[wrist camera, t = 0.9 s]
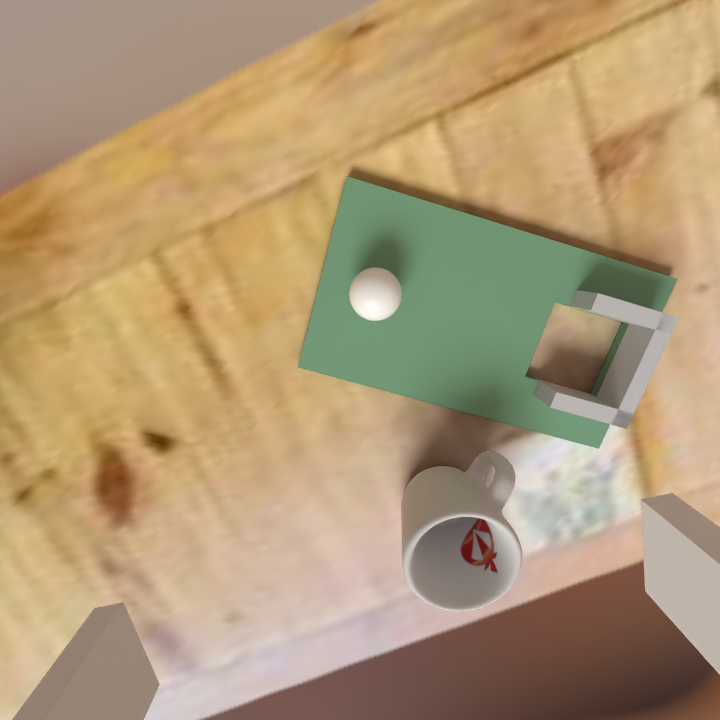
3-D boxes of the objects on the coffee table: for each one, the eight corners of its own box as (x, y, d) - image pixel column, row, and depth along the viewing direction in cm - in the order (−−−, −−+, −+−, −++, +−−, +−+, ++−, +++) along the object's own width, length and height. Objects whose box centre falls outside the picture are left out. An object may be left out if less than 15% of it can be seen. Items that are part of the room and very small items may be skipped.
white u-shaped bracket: (529, 391, 32) (550, 407, 29) (570, 289, 30) (598, 293, 27) (598, 411, 32) (626, 428, 29) (643, 311, 30) (679, 317, 27)
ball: (343, 309, 29) (342, 315, 26) (357, 260, 29) (357, 260, 25) (390, 322, 30) (395, 330, 26) (405, 275, 29) (412, 276, 25)
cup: (443, 408, 32) (471, 455, 24) (523, 453, 33) (574, 512, 26) (374, 510, 34) (380, 582, 27) (451, 549, 35) (478, 630, 28)
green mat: (299, 364, 31) (297, 367, 30) (347, 178, 28) (347, 176, 27) (592, 444, 33) (598, 448, 32) (669, 278, 30) (677, 278, 29)
